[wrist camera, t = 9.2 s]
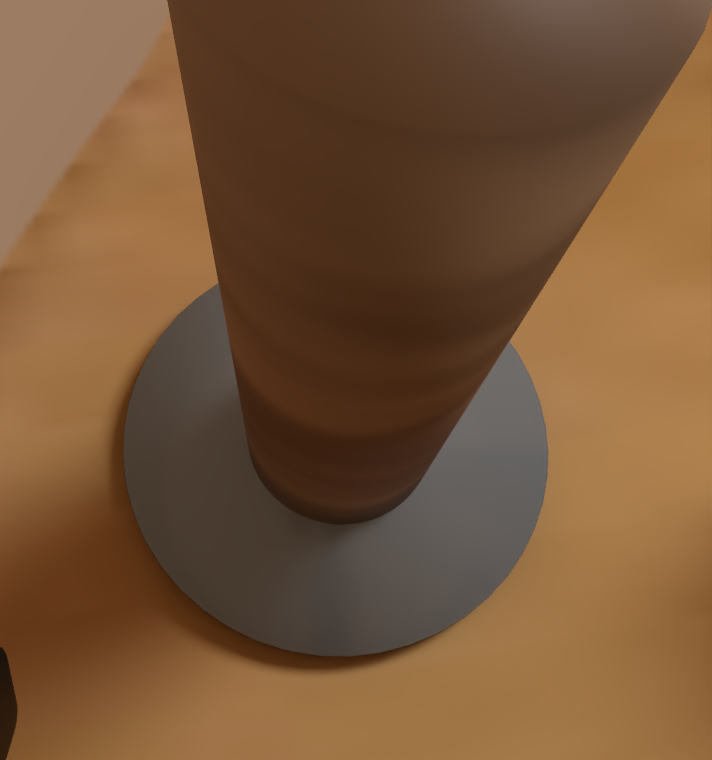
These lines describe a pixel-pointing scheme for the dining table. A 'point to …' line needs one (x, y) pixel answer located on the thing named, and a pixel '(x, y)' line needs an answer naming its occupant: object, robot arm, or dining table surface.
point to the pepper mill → (399, 205)
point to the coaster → (317, 539)
